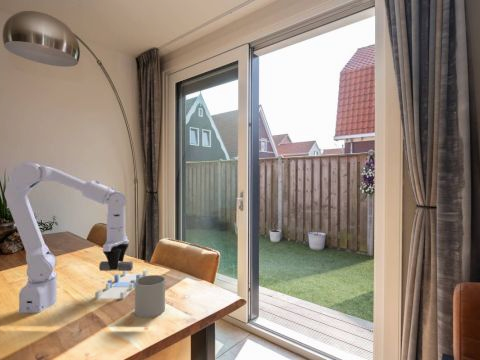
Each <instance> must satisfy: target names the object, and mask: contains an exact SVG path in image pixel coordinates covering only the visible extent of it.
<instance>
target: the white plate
mask: <svg viewBox="0 0 480 360" xmlns="http://www.w3.org/2000/svg"><path fill="white" fill-rule="evenodd" d="M148 272H149V268H144V269H143V270H142V273H129V271H122V276H121V274H114V276H113V277H114V282H113V279H107V283H105V290H104V291H103V288H100V289H98V290H97V291H96V292H95V293H94V299H95V300H124V299H126V297H127V296H128V295H129V294H130V293H131V292H132V291H133V290H135V281H136V280H137V279H138V278H140V277H144V276H148Z"/></svg>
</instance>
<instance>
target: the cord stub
mask: <svg viewBox="0 0 480 360" xmlns="http://www.w3.org/2000/svg"><path fill="white" fill-rule="evenodd" d="M133 268H134V263H133V261H124V260H123V261H119V262H118V268H117V270H110V267H109V263H108V260H107V261H100V262H99V267H98V269H99V271H100V272H103V271H104V272H107V271H109V272H123V271H128V272H131V271H132V270H133Z"/></svg>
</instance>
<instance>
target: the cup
mask: <svg viewBox="0 0 480 360" xmlns="http://www.w3.org/2000/svg"><path fill="white" fill-rule="evenodd" d="M165 311H166V277H164V276H162V275H158V274H157V275H156V274H154V275H152V274H151V275H146V276H144V277H140V278H138V279H137V280H136V281H135V288H134V315H135V316H136V317H138V318H141V319H150V318H155V317H158V316H161V315H163V313H165Z"/></svg>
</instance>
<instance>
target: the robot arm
mask: <svg viewBox="0 0 480 360" xmlns="http://www.w3.org/2000/svg"><path fill="white" fill-rule="evenodd" d="M40 182H57V183H59V184H62V185H63V186H67V187H69V188H73V189H75V190H78V191H80V192H81V193H82V196H83V198H86V199H89V200H92V201H94V202H97V203H99V204H101V205H104V204H105V205H107V214H106V241H105V242H104V244H103V245H102V253H103V254H104V255H105V258H106V260H107V261H108V263H109V267H110V270H117V268H118V262H119V261H124V258H125V255H126V252H127V250H128V248H129V245H130V244H129V242H130V240H129V239H128V235H126V205H127V199H126V195H125V194H124V193H123V192H121V191H119V190H115V187H109V186H106V185H104V184H102V183H101V181H99V180H96V181H95V180H89V181H84V180H82V179H80V178H77V177H75V176H72V175H70V174H68V173H66V172H63V171H61V170H59V169H58V168H54V167H49V166H46V165H42V164H40V163H36V162H31V161H21V162H19V163H18V164H16V166H15V167H14V168H12V170H11V171H10V172H9V179H8V181H7V184H6V188H5V190H4V193H3V194H4V198H5V200H6V204H7V206H8V208H9V212H10V214H11V216H12V219H13V222H14V225H15V227H16V230H17V232H18V234H19V237H20V239H21V242H22V246H23V247H24V250H25V262H26V263H27V268H26V275H27V277H28V278H27V282H26V284H25V285H24V286H23V287H22V288H21V289H20V291H19V293H18V305H19V306H18V312H16V314H15V315H18V314H19V313H21V314H23V313H24V314H27V313H29V314H40V313H42V312H43V311H45V310H46V309H48V308H50V307H51V306H52V307H53V306H54V305H56V303H57V300H58V299H57V294H58V293H57V292H58V291H57V287H58V286H57V280H58V279H57V278H58V277H57V273H56V272H55V271H54V269H55V267H56V265H57V262H58V261H57V258H56V256H55V255H54V254H53V253H52V252H51V251H50V249H49V248H50V247H48V245H47V244H46V243H45V240H44V238H43V235H42V232H41V229H40V227H39V224H38V221H37V220H36V215H35V214H34V211H33V208H32V205H31V203H30V200H29V197H28V195H29V194H30V192H32V190H33V188H34V187H35V186H36V185H38V184H39V183H40Z"/></svg>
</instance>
